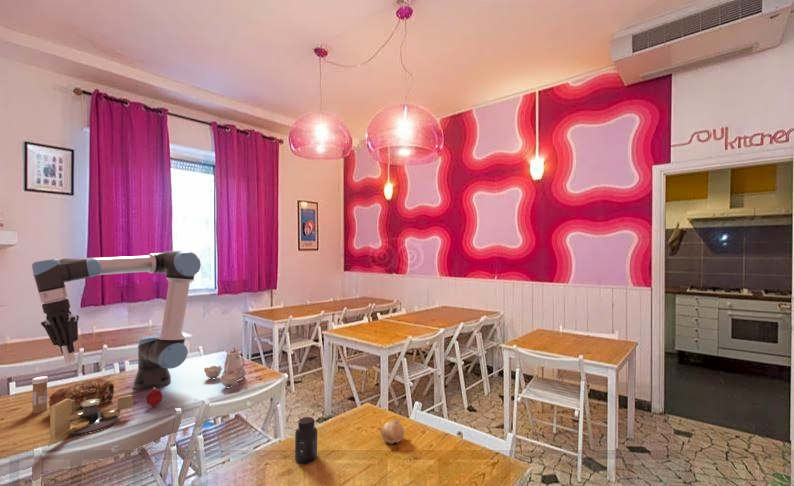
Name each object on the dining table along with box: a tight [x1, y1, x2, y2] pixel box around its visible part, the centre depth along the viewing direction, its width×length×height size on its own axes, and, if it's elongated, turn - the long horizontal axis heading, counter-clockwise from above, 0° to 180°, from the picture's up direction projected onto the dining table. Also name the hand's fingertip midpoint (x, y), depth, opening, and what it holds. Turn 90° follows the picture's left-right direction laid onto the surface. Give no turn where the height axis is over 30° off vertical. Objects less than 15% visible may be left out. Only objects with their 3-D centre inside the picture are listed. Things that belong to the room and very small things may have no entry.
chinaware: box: [203, 346, 246, 388], centre depth 187 cm, size 28×17×17 cm, turn 55°
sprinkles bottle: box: [31, 375, 49, 414], centre depth 152 cm, size 5×5×13 cm
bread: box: [48, 378, 115, 414], centre depth 156 cm, size 19×11×10 cm, turn 159°
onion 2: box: [380, 418, 405, 445], centre depth 131 cm, size 8×8×7 cm
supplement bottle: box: [294, 416, 318, 465], centre depth 120 cm, size 7×7×12 cm
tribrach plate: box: [68, 394, 133, 437], centre depth 142 cm, size 22×18×8 cm
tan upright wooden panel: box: [48, 398, 89, 445], centre depth 131 cm, size 14×6×12 cm, turn 5°
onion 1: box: [145, 387, 163, 408], centre depth 157 cm, size 6×6×8 cm
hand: (70, 361), depth 143 cm, fingers closed
